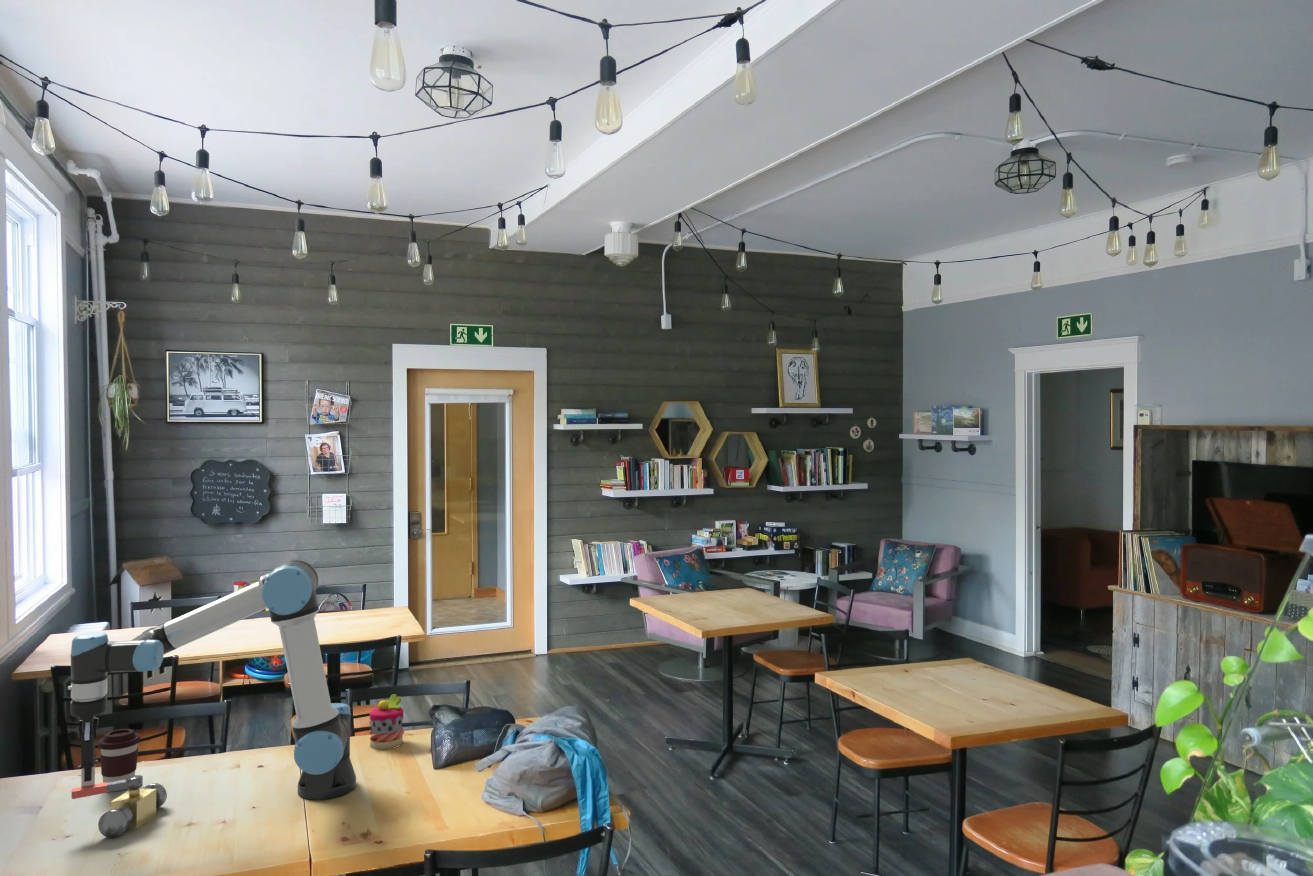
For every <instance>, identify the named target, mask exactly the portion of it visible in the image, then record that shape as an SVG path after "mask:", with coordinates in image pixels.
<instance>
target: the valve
mask: <svg viewBox="0 0 1313 876" xmlns="http://www.w3.org/2000/svg"><path fill="white" fill-rule="evenodd" d="M167 798H168V793H167V790H166V788H165V786H164V785H162V784H160V783H157V782H152V783H149V784H147V785H146V786H145V787H143V788H141V787H140V788H137V789H132V790H127V791H125V792H124V793H122V794H121V795H119V796H118V797H116V798H115V799H113V800H112V801H110V802H111V803H110V809H109V810H107V811H106V812H104V813H103V814H101V816H100V817H99V820H98V825H97V826H98V831H99V833H100V834H101V835H102V836H103V837H104V838H108V839H115V838H117V837H119V836H121V835H123V834H124V833H125V832H126V831H127V830H138V829H139V828H141V827H142V826H144V825H145V824H146V823H148V822H149V821H151V820H152V819H153V818H155V817H156V816H157V810H158V809H159V808H160V807H162V806H163V805H164V804H165V803H166V801H167Z"/></svg>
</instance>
